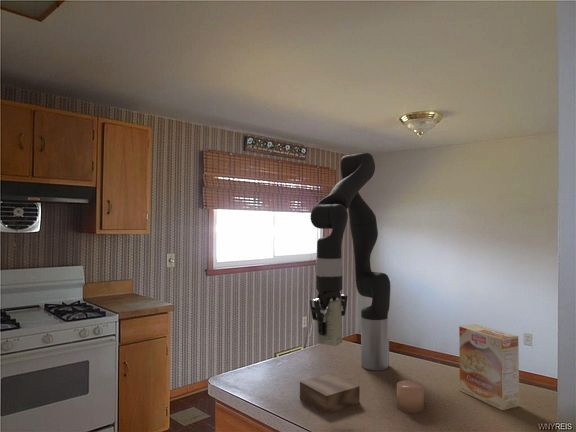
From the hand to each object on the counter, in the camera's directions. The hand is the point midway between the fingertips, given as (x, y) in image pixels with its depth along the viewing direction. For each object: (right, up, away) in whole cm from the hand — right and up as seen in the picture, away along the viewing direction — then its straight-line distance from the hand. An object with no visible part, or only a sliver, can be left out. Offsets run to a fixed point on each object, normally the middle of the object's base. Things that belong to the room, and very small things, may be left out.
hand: (329, 333), depth 118 cm
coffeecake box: (+46, -19, +1) cm, 50 cm away
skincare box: (0, -3, 0) cm, 3 cm away
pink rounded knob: (+22, -19, -5) cm, 29 cm away
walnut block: (0, -19, -1) cm, 19 cm away
